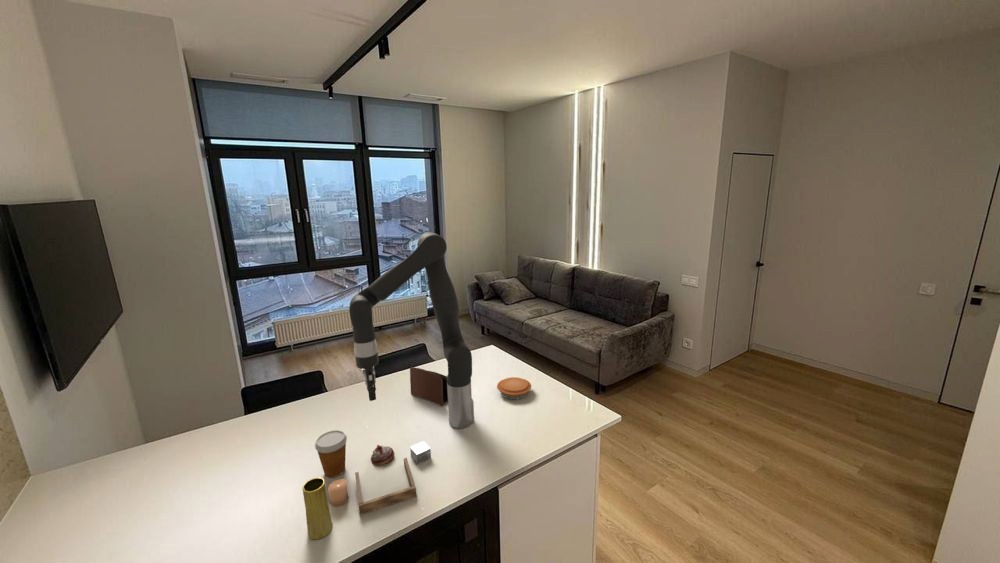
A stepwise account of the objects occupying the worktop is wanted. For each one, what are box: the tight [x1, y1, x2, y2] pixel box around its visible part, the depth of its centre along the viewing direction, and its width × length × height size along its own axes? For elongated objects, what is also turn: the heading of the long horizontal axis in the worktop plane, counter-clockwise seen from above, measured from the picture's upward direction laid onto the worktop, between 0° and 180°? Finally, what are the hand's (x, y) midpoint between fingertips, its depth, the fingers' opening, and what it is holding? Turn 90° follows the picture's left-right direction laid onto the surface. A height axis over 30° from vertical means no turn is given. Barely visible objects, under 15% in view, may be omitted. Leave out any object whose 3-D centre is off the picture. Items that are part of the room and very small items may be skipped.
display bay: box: [354, 457, 417, 516], centre depth 115 cm, size 16×14×3 cm
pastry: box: [370, 444, 395, 467], centre depth 128 cm, size 8×8×5 cm
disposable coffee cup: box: [314, 429, 348, 478], centre depth 122 cm, size 10×10×12 cm
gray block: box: [409, 441, 432, 465], centre depth 128 cm, size 5×5×4 cm
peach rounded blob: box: [328, 478, 349, 508], centre depth 111 cm, size 5×5×5 cm
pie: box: [496, 376, 532, 400], centre depth 169 cm, size 15×16×5 cm
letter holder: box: [409, 366, 448, 408], centre depth 167 cm, size 10×20×14 cm, turn 55°
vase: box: [301, 477, 334, 540], centre depth 100 cm, size 6×6×14 cm
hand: (371, 394), depth 134 cm, fingers open, 8 cm apart
